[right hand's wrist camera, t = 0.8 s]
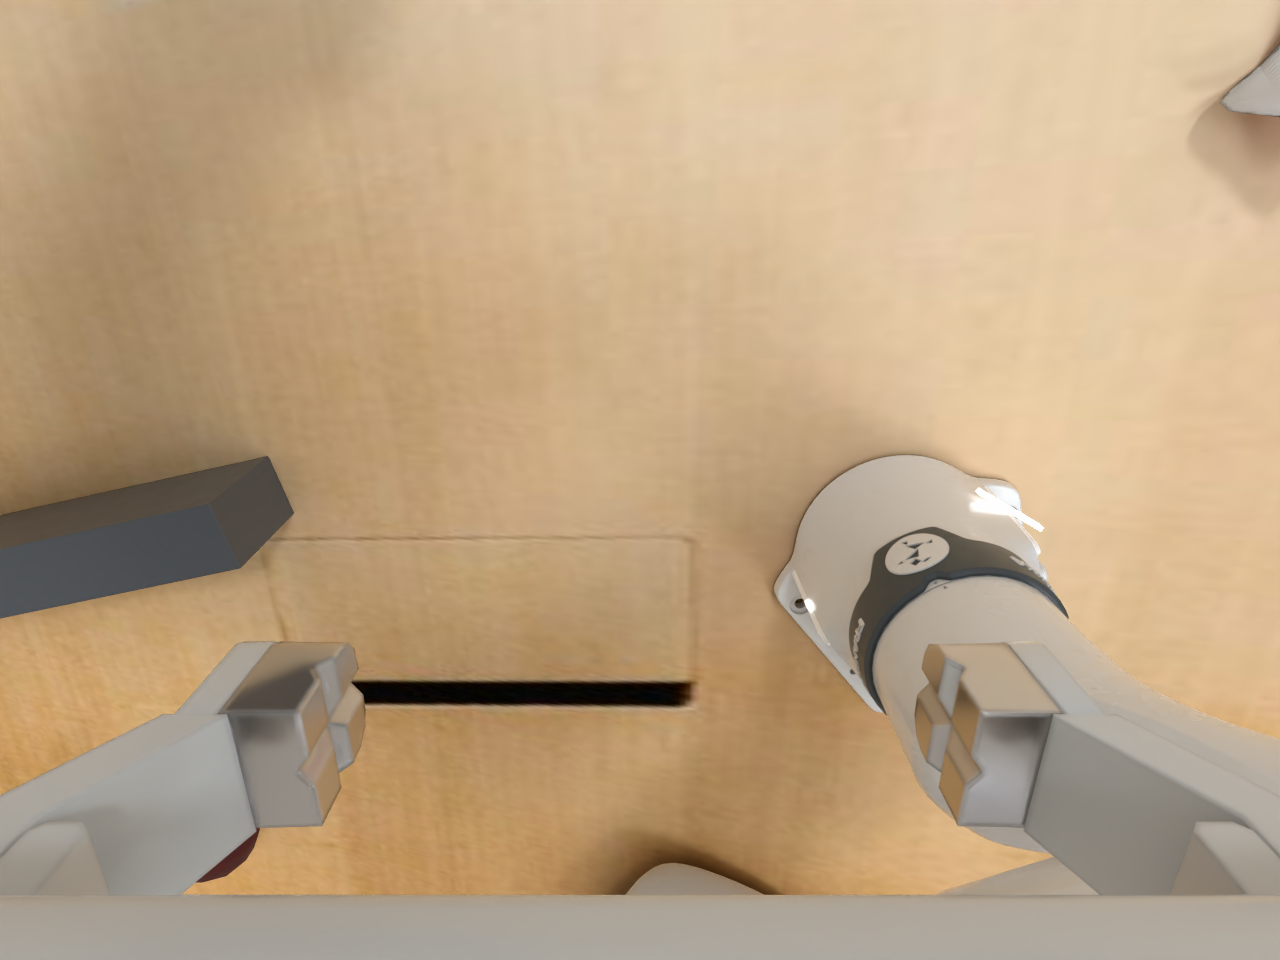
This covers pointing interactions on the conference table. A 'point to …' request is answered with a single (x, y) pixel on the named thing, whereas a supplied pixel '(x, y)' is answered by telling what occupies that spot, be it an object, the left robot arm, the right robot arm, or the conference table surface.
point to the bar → (138, 536)
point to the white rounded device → (686, 882)
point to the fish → (1258, 89)
